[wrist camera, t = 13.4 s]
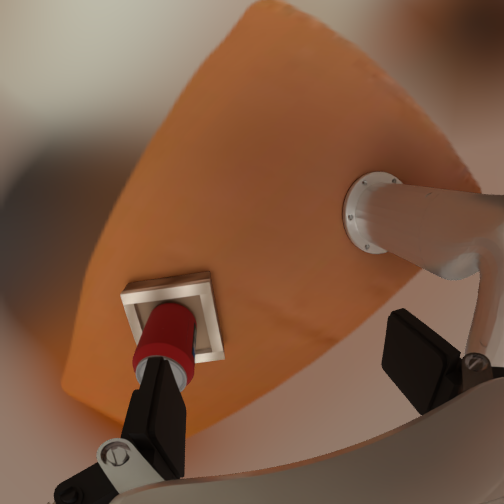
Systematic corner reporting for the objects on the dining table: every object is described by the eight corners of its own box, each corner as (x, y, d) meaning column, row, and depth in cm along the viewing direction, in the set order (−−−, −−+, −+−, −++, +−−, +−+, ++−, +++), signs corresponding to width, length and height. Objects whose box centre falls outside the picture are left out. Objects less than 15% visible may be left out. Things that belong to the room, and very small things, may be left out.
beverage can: (173, 350, 38) (163, 408, 26) (139, 318, 36) (116, 372, 24) (207, 324, 37) (207, 382, 26) (173, 290, 35) (158, 339, 24)
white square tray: (209, 271, 39) (209, 282, 35) (223, 343, 42) (224, 359, 38) (128, 283, 37) (120, 294, 33) (149, 351, 41) (145, 367, 37)
